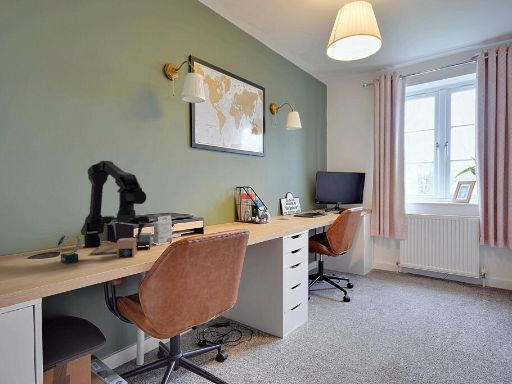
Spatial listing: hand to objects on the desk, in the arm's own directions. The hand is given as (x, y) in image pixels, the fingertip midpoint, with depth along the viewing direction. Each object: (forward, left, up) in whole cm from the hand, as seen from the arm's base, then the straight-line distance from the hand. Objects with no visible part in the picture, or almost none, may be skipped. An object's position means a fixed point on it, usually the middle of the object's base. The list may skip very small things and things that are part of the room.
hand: (126, 239), depth 124 cm
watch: (-20, -6, -7) cm, 22 cm away
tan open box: (0, 0, -7) cm, 7 cm away
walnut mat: (-10, +10, -7) cm, 16 cm away
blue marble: (0, 0, -6) cm, 6 cm away
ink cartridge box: (+13, +24, -7) cm, 28 cm away
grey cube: (+5, +14, -7) cm, 16 cm away
